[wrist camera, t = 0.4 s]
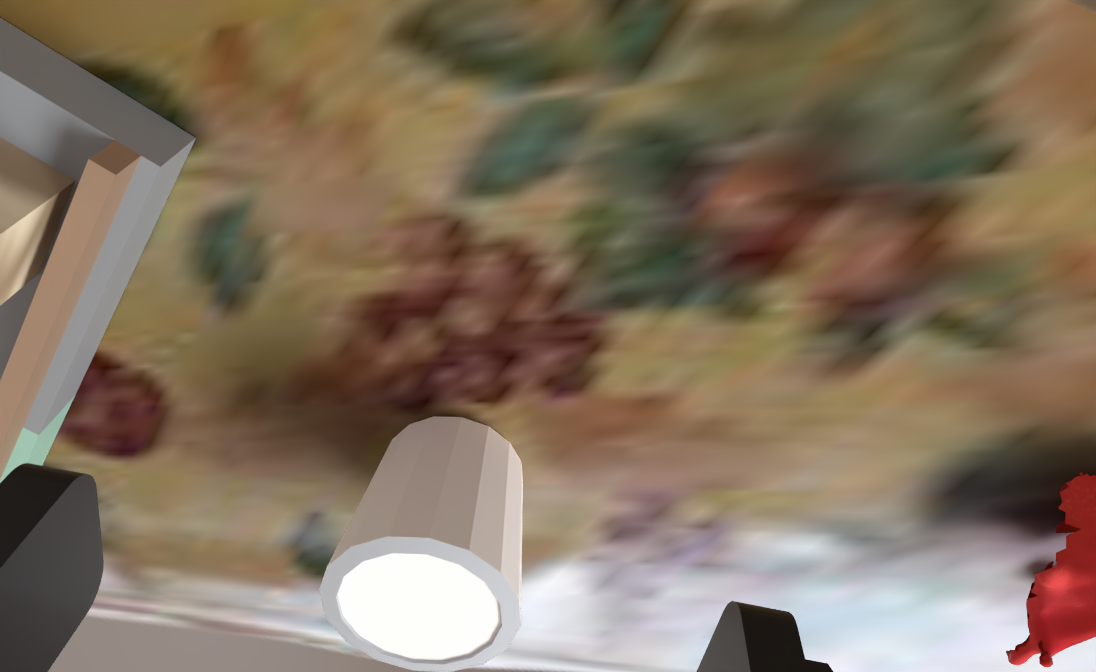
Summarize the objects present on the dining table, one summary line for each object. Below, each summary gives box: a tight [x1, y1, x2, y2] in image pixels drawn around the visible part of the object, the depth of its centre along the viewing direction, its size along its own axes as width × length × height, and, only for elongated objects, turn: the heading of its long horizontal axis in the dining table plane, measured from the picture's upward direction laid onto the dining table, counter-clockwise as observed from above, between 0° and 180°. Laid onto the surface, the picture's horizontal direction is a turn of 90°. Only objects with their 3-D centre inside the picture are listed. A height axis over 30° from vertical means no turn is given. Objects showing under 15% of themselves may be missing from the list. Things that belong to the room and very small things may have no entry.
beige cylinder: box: [319, 416, 523, 672], centre depth 31 cm, size 7×7×7 cm
